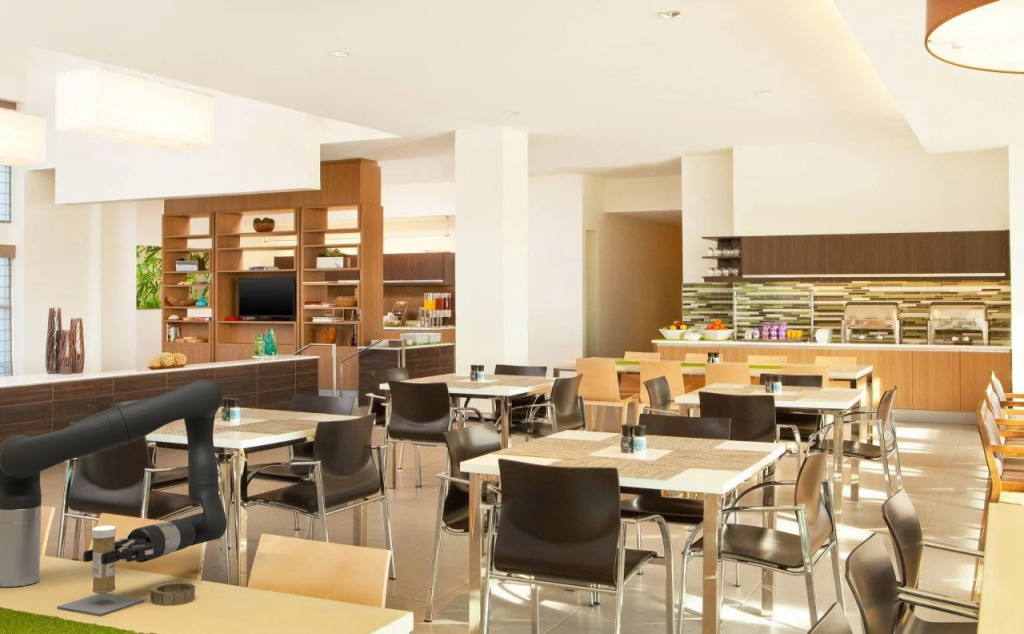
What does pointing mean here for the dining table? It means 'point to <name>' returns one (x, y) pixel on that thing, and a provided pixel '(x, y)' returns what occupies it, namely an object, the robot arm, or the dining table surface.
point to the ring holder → (172, 593)
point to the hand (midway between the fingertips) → (93, 558)
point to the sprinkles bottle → (101, 572)
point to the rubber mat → (101, 604)
